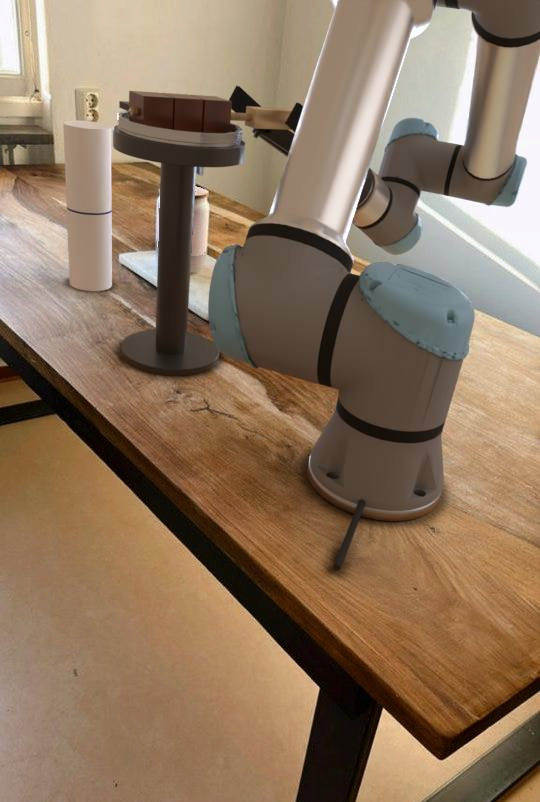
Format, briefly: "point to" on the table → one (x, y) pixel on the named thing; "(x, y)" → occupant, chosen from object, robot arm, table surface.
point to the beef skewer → (199, 113)
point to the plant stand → (174, 239)
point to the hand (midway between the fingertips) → (260, 103)
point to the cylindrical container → (88, 204)
